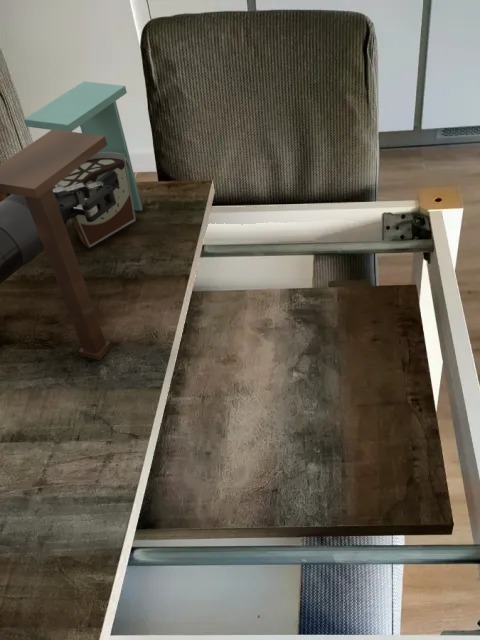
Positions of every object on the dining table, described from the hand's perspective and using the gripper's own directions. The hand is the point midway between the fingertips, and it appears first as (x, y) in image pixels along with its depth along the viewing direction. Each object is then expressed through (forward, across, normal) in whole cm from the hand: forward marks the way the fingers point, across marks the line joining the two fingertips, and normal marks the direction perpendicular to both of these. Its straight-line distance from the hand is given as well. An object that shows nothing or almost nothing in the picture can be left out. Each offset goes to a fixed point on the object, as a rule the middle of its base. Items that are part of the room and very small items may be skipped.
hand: (90, 173), depth 96 cm
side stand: (-22, -14, +8) cm, 28 cm away
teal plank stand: (+1, 0, +8) cm, 8 cm away
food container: (-2, 0, +8) cm, 8 cm away
